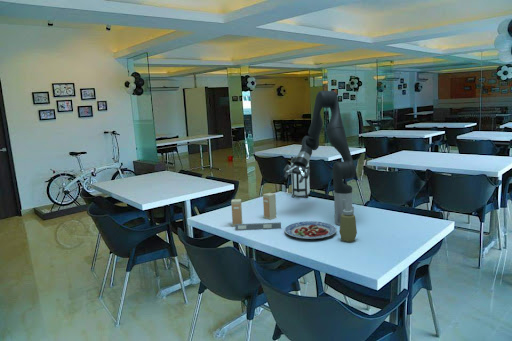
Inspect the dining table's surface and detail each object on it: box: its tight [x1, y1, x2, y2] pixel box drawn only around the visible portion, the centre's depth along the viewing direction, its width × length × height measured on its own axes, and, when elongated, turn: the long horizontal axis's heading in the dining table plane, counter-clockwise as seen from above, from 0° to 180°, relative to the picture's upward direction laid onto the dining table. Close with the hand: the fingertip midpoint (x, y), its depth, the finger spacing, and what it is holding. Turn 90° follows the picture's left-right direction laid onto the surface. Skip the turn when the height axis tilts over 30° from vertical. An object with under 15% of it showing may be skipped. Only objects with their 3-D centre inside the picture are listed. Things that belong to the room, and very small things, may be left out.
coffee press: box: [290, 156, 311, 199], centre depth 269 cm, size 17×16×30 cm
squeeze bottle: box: [339, 203, 358, 243], centre depth 185 cm, size 8×8×18 cm
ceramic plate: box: [284, 220, 337, 240], centre depth 199 cm, size 26×26×3 cm
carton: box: [262, 192, 277, 221], centre depth 225 cm, size 5×5×14 cm
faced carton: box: [230, 198, 243, 228], centre depth 215 cm, size 5×5×14 cm
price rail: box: [234, 221, 282, 231], centre depth 208 cm, size 24×1×3 cm, turn 89°
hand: (292, 180), depth 219 cm, fingers open, 8 cm apart
